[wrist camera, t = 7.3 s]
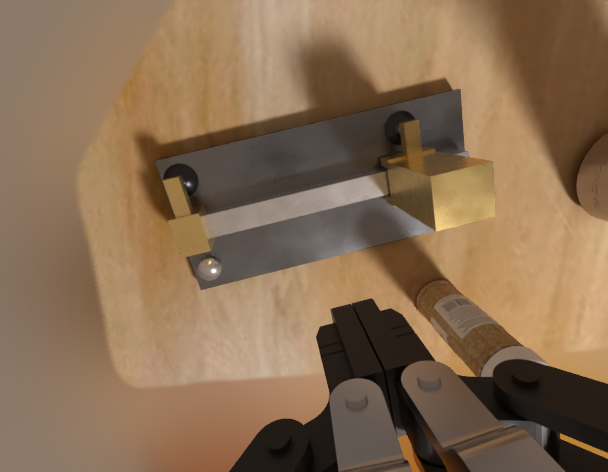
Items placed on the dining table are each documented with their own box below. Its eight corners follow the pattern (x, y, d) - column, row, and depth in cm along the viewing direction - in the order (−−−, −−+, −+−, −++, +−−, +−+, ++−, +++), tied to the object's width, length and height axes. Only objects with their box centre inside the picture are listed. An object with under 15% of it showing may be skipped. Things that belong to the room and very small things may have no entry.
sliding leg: (421, 116, 30) (491, 113, 21) (429, 191, 32) (495, 219, 23) (375, 127, 29) (425, 129, 20) (386, 202, 32) (436, 234, 23)
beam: (456, 107, 30) (476, 106, 27) (461, 178, 32) (480, 183, 29) (164, 177, 29) (153, 183, 26) (188, 245, 31) (181, 258, 28)
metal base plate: (452, 90, 31) (465, 87, 29) (462, 218, 35) (474, 224, 33) (158, 159, 30) (151, 162, 28) (203, 284, 34) (199, 294, 32)
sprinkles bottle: (412, 317, 37) (490, 418, 25) (418, 278, 36) (503, 363, 23) (452, 316, 38) (549, 413, 25) (460, 277, 37) (565, 360, 24)
